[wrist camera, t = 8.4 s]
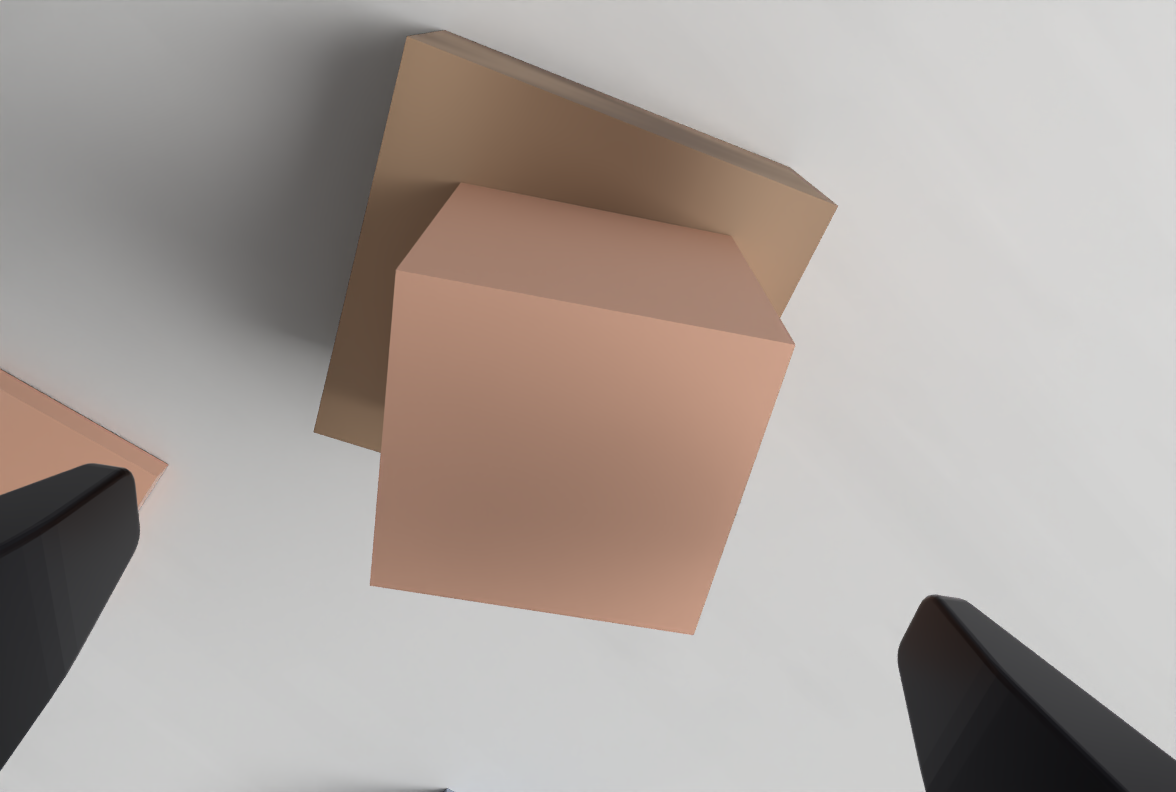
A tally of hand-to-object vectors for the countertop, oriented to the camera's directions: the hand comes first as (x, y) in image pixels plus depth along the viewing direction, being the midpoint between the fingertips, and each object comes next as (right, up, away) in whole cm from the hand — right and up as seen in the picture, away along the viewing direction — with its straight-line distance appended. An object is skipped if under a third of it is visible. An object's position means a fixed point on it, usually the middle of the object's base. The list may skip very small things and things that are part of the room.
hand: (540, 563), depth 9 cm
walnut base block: (0, +5, +10) cm, 11 cm away
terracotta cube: (0, +3, +6) cm, 7 cm away
